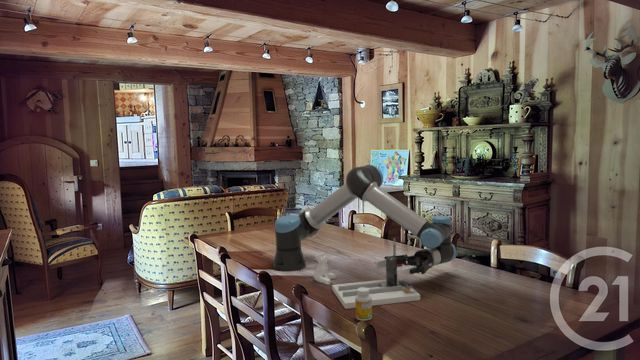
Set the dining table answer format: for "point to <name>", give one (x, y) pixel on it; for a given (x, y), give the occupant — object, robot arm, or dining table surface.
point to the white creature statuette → (323, 270)
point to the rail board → (374, 293)
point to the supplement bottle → (363, 304)
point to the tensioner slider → (393, 274)
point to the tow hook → (395, 251)
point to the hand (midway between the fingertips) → (389, 269)
